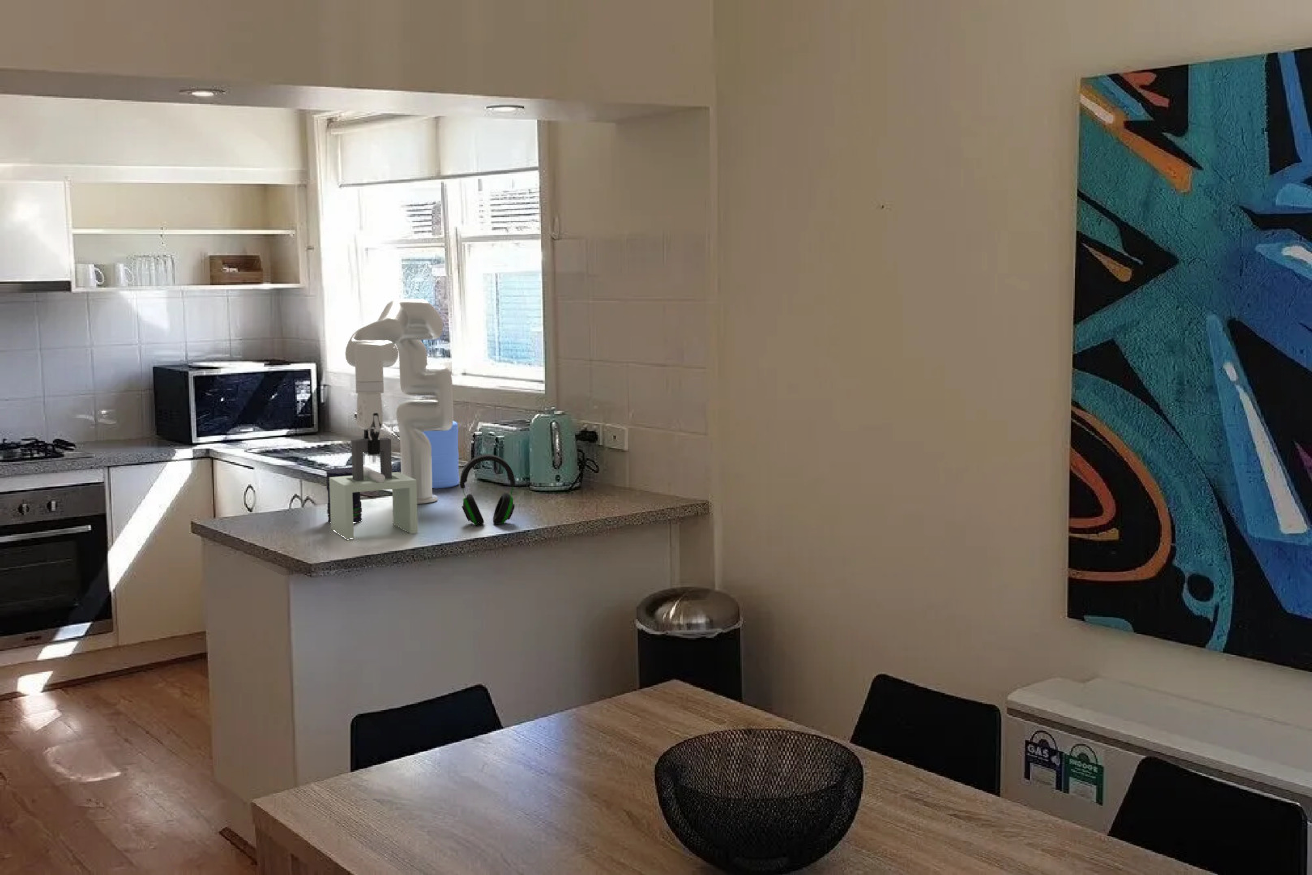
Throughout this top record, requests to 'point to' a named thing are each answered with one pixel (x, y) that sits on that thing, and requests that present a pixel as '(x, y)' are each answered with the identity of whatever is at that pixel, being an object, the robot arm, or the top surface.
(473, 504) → the headphones
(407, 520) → the shelf
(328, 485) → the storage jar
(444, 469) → the light blue cylinder
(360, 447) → the grey bridge arch
